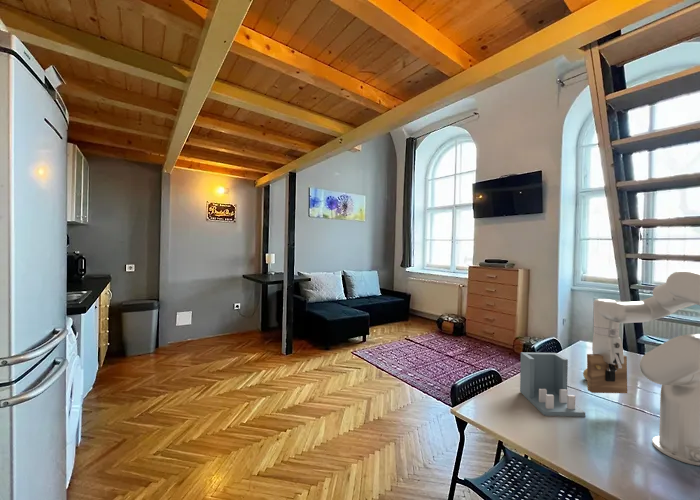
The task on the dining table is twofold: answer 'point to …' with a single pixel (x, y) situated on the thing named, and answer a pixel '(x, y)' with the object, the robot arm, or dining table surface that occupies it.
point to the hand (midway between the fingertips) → (607, 379)
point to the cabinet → (547, 384)
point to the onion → (585, 374)
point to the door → (597, 376)
